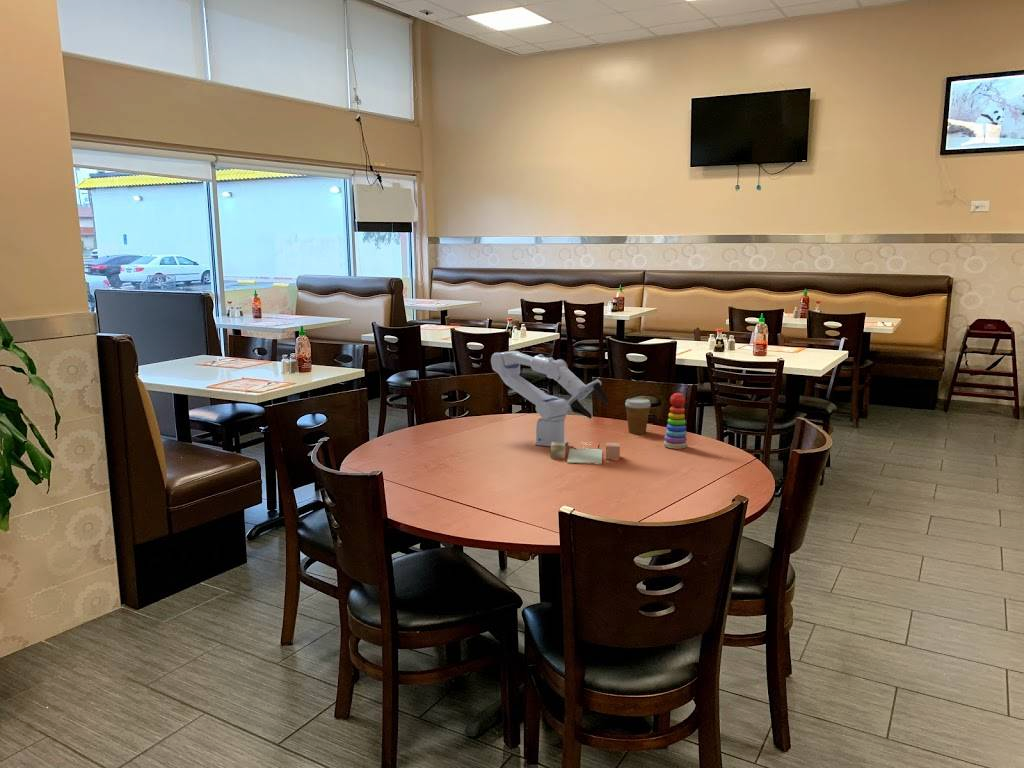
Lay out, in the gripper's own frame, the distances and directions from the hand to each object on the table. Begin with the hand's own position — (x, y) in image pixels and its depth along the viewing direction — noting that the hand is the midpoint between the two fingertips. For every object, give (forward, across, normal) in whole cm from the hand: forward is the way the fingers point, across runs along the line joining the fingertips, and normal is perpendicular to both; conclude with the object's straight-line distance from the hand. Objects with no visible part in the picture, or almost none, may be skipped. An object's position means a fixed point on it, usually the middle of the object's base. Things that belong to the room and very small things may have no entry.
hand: (599, 409), depth 249 cm
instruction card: (0, -7, +17) cm, 19 cm away
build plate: (+6, -12, +8) cm, 16 cm away
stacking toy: (+18, +17, +23) cm, 33 cm away
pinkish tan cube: (+12, -6, +9) cm, 16 cm away
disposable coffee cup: (-2, +16, +36) cm, 40 cm away
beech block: (0, -19, +8) cm, 21 cm away
